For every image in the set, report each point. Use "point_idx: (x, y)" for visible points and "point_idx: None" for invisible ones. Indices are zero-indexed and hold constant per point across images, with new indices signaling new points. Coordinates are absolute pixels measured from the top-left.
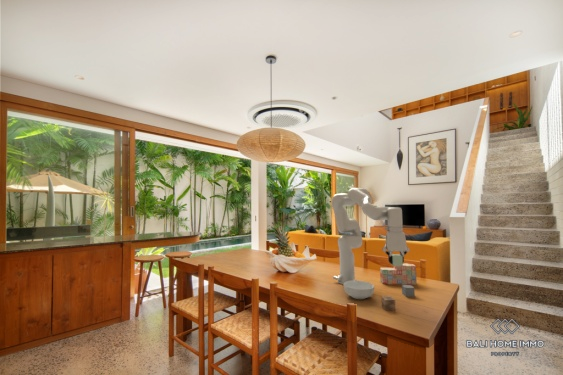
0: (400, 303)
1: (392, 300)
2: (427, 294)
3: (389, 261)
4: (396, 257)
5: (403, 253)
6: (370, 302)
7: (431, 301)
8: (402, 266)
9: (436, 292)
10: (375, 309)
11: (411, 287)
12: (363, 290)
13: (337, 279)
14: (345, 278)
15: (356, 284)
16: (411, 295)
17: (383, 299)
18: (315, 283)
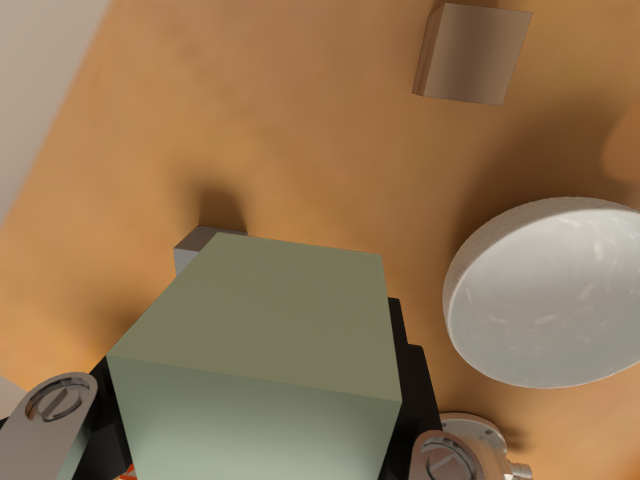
0: (330, 134)
1: (466, 5)
2: (118, 245)
3: (422, 350)
4: (299, 352)
5: (4, 457)
6: (511, 172)
7: (132, 144)
8: (135, 475)
9: (63, 264)
10: (562, 44)
11: (189, 257)
12: (605, 205)
13: (518, 463)
14: (489, 455)
15: (507, 360)
16: (213, 230)
17: (514, 57)
18: (631, 459)
